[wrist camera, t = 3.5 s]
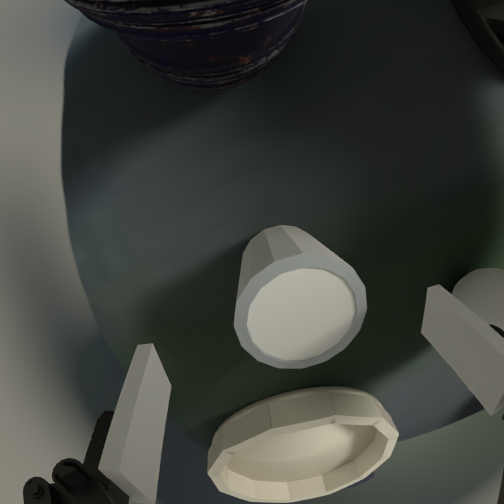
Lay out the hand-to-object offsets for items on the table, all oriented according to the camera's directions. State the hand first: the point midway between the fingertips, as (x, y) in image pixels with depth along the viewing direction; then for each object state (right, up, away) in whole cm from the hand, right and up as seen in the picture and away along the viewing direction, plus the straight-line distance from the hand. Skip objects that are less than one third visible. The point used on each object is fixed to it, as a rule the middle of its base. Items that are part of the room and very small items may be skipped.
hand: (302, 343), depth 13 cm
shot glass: (0, +3, +8) cm, 9 cm away
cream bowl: (+3, -18, +16) cm, 24 cm away
